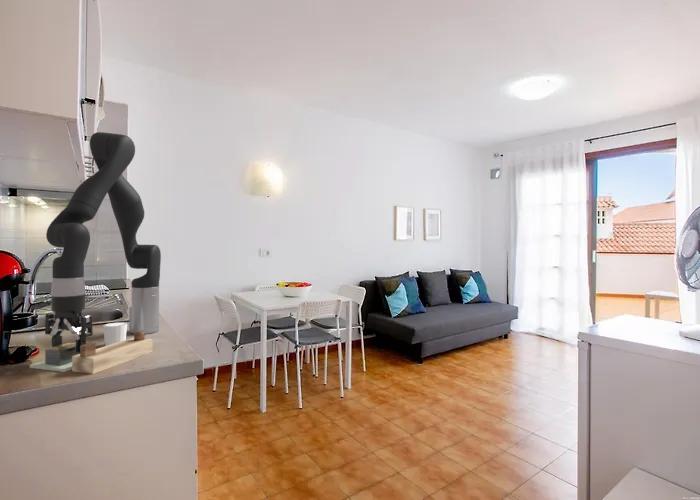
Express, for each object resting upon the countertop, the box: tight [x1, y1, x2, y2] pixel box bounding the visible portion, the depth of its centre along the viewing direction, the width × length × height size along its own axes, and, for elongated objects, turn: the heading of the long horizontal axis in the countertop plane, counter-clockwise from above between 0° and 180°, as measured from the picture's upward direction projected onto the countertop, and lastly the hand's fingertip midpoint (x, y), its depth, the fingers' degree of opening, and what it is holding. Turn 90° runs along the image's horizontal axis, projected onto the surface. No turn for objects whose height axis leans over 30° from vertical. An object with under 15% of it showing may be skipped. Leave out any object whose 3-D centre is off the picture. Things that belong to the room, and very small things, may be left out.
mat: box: [29, 360, 72, 373], centre depth 104 cm, size 12×12×1 cm
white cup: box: [102, 321, 128, 347], centre depth 122 cm, size 7×7×7 cm
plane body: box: [71, 331, 154, 375], centre depth 106 cm, size 7×20×7 cm, turn 166°
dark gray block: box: [44, 341, 92, 366], centre depth 104 cm, size 5×9×5 cm, turn 166°
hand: (68, 350), depth 104 cm, fingers open, 8 cm apart
